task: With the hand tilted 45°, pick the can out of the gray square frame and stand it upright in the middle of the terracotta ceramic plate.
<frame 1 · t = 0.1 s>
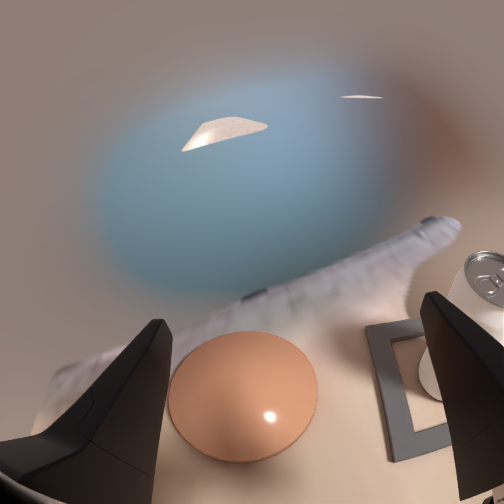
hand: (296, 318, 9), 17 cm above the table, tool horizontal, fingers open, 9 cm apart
can: (447, 375, 21), resting in gray square frame
gray square frame: (447, 373, 21), on the table
plate: (242, 395, 24), on the table
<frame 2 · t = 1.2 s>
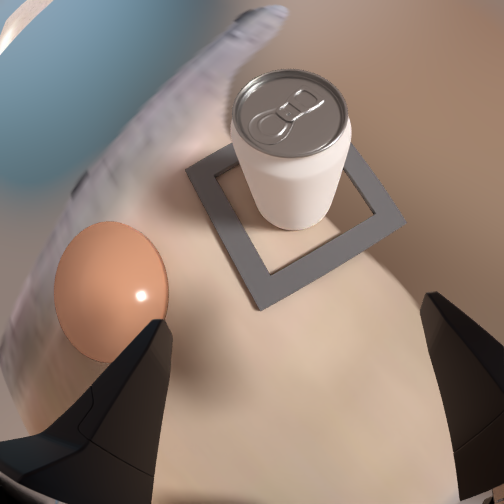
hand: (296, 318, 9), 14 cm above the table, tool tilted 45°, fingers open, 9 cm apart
can: (293, 195, 25), resting in gray square frame
gray square frame: (293, 194, 25), on the table
plate: (107, 292, 26), on the table
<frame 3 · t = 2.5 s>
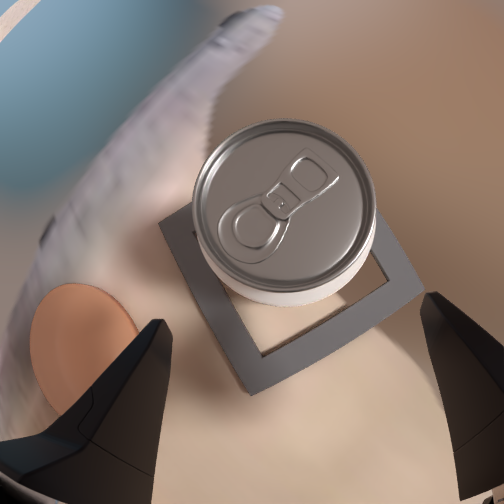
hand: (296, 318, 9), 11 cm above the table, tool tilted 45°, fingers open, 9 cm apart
can: (290, 257, 21), resting in gray square frame
gray square frame: (290, 256, 20), on the table
plate: (84, 359, 21), on the table
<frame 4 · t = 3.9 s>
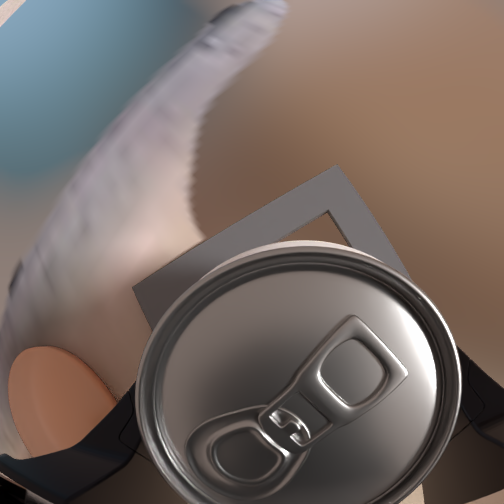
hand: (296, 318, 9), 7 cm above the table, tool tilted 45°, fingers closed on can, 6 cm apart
can: (296, 335, 16), resting in gray square frame, touching gripper
gray square frame: (296, 336, 16), on the table
plate: (65, 425, 17), on the table
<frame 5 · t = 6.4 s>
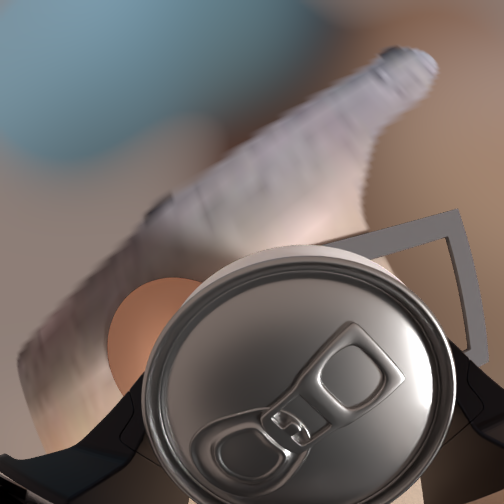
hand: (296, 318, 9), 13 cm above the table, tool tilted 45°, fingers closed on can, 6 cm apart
can: (296, 329, 16), point 6 cm above the table, touching gripper
gray square frame: (411, 312, 21), on the table
plate: (179, 356, 23), on the table
when the fingers open (8 cm above the table, at t = 8.8 s): can stays where it is, resting on plate.
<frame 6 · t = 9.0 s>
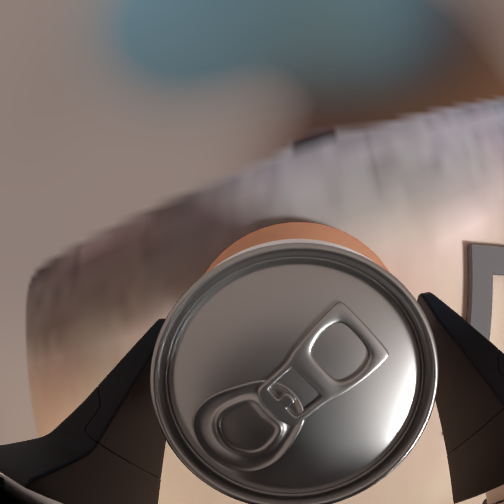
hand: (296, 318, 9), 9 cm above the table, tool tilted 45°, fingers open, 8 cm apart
can: (295, 331, 17), point 1 cm above the table, touching plate
plate: (297, 331, 18), on the table
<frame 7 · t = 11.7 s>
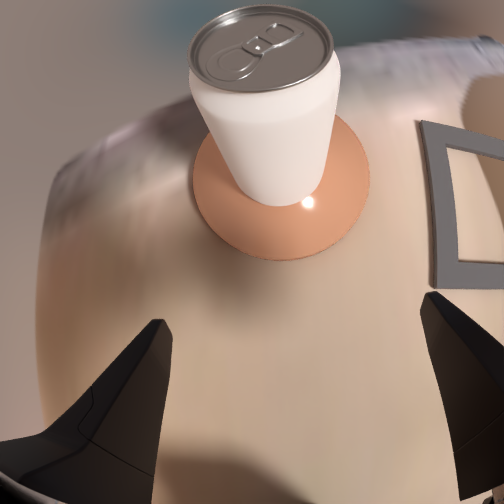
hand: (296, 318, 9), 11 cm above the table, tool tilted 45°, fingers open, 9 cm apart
can: (278, 167, 21), point 1 cm above the table, touching plate
gray square frame: (494, 207, 19), on the table
plate: (281, 174, 22), on the table
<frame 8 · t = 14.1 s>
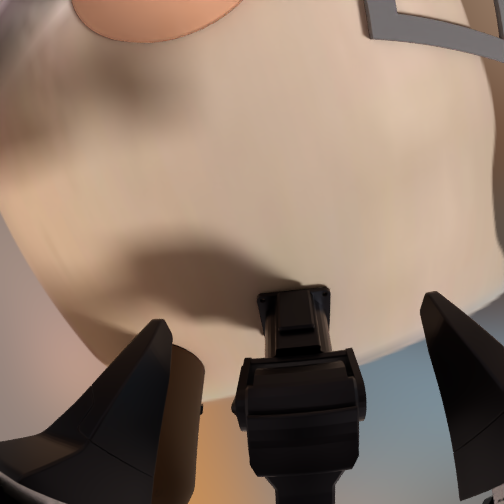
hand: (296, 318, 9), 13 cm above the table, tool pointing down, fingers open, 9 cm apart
olive oil: (168, 362, 35), on the table
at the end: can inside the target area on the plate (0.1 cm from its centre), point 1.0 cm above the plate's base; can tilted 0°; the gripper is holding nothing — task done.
